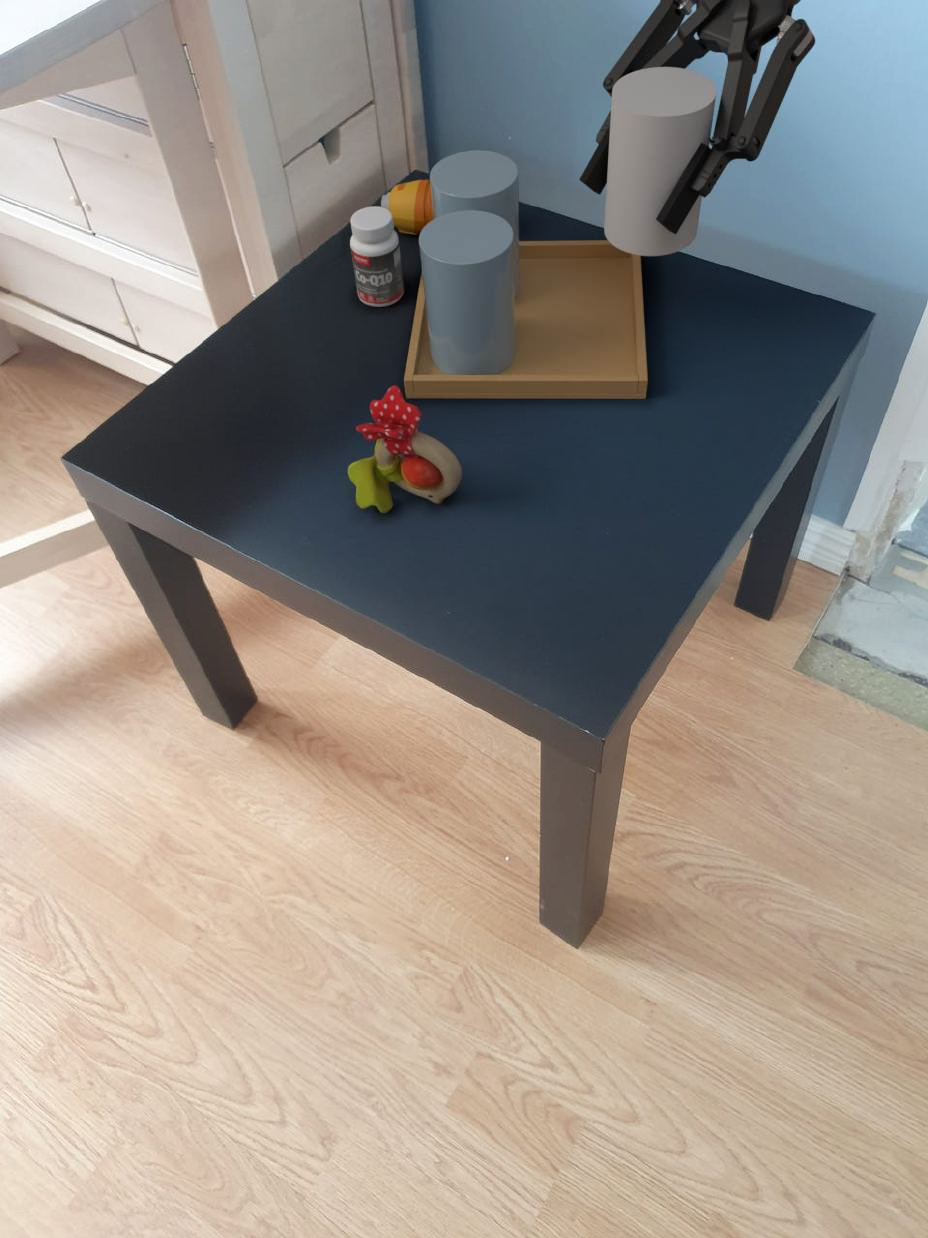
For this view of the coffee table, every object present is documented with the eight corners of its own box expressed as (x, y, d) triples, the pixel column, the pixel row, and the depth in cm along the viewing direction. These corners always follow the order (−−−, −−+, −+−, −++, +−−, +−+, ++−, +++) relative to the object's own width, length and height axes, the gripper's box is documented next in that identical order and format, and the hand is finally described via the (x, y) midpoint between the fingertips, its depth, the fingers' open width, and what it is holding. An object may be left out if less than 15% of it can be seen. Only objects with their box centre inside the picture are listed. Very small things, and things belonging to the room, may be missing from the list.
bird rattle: (450, 490, 86) (354, 444, 85) (496, 408, 77) (389, 356, 76) (428, 543, 83) (328, 497, 82) (474, 464, 74) (362, 410, 72)
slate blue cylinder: (517, 325, 95) (515, 208, 86) (514, 380, 90) (511, 263, 81) (434, 325, 96) (423, 210, 86) (427, 380, 91) (414, 264, 82)
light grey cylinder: (709, 214, 89) (730, 76, 79) (678, 264, 85) (695, 124, 75) (624, 196, 92) (634, 60, 82) (589, 243, 87) (596, 105, 78)
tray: (637, 257, 102) (639, 239, 100) (645, 399, 89) (647, 380, 87) (428, 260, 104) (426, 241, 102) (406, 398, 91) (403, 380, 89)
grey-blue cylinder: (521, 264, 101) (520, 148, 92) (518, 312, 96) (516, 196, 87) (443, 265, 102) (433, 150, 92) (436, 313, 97) (425, 197, 87)
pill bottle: (354, 307, 99) (340, 231, 93) (363, 279, 102) (350, 203, 95) (400, 309, 99) (390, 232, 92) (408, 280, 102) (399, 204, 95)
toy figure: (380, 243, 106) (491, 248, 104) (372, 194, 102) (488, 199, 100) (392, 215, 109) (499, 220, 107) (385, 167, 105) (497, 170, 103)
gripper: (914, -6, 75) (739, 271, 82) (701, -74, 85) (562, 178, 92) (891, -66, 69) (705, 240, 76) (665, -131, 79) (519, 144, 86)
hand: (626, 206), depth 84 cm, fingers closed on light grey cylinder, 8 cm apart
